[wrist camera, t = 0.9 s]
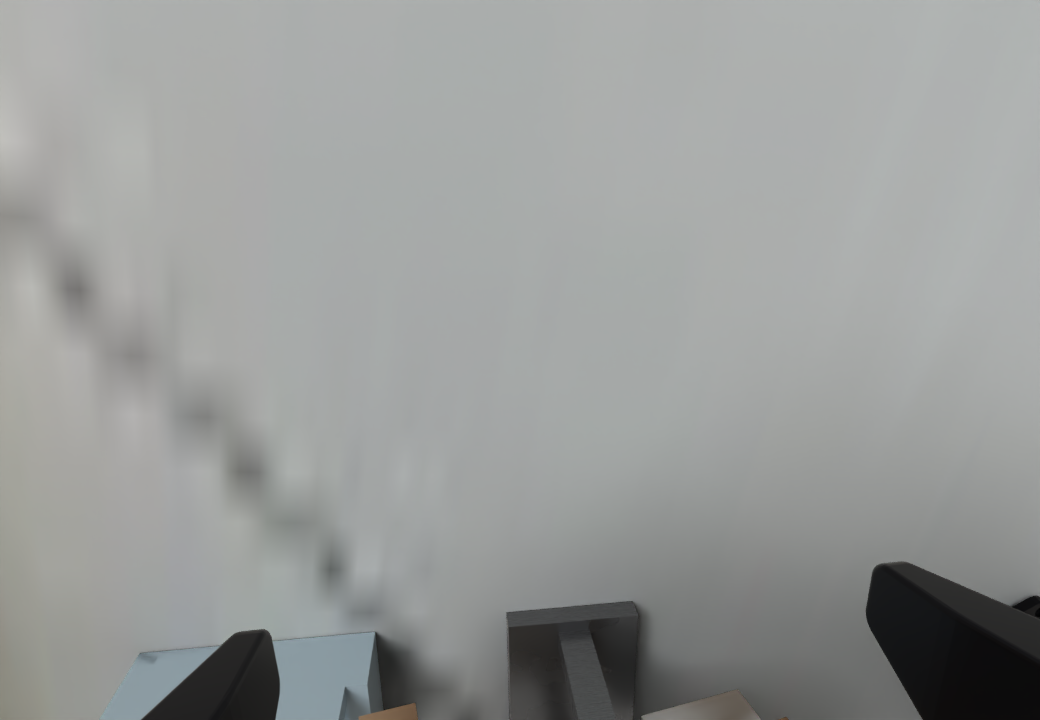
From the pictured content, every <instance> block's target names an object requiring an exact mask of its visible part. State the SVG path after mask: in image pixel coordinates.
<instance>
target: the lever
mask: <svg viewBox="0 0 1040 720" xmlns="http://www.w3.org/2000/svg"><path fill="white" fill-rule="evenodd" d="M359 720H418V716H417V710H416V704H415V703H412V704H408V705H404V706H400V707H396V708H392V709H388V710H384V711H379V712H375V713H371V714H367V715H363V716H359ZM641 720H761V719H760V717H759V716H758V715H757V714H756V712H755V711H754V710H753V708H752V707H751V706H750V704H749V703H748V702H747V700H746V699H745V698H744V697H743V695H742V694H741V693H740V691H739V690H738V689H737V690H733V691H729V692H726V693H722V694H718V695H715V696H711V697H708V698H704V699H700V700H697V701H693V702H690V703H686V704H682V705H679V706H675V707H671V708H668V709H664V710H661V711H657V712H653V713H650V714H646V715H643V716H641ZM778 720H788V718H787V717H785V718H781V719H778Z"/></svg>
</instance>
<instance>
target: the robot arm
mask: <svg viewBox="0 0 1040 720" xmlns="http://www.w3.org/2000/svg"><path fill="white" fill-rule="evenodd" d="M866 617H867V622H868V624H869V627H870V629H871V631H872V633H873V635H874V636H875V638H876V640H877V641H878V643H879V645H880V647H881V648H882V650H883V652H884V654H885V655H886V657H887V659H888V661H889V662H890V664H891V666H892V667H893V669H894V671H895V673H896V674H897V676H898V678H899V680H900V681H901V683H902V685H903V686H904V688H905V690H906V692H907V693H908V695H909V697H910V699H911V700H912V702H913V704H914V705H915V707H916V709H917V711H918V712H919V714H920V716H921V717H922V719H923V720H1040V597H1039V596H1033V597H1031V598H1028V599H1026V600H1025V601H1023V602H1021V603H1019V604H1017V605H1015V606H1013V607H1010V606H1008V605H1005V604H1003V603H1001V602H998V601H996V600H994V599H992V598H989V597H987V596H985V595H982V594H980V593H978V592H975V591H973V590H971V589H968V588H966V587H964V586H961V585H959V584H957V583H954V582H952V581H950V580H948V579H945V578H943V577H941V576H938V575H936V574H934V573H931V572H929V571H927V570H924V569H922V568H920V567H917V566H915V565H913V564H910V563H908V562H892V563H882V564H879V565H877V566H876V567H875V568H874V570H873V572H872V577H871V583H870V589H869V594H868V600H867V606H866ZM279 696H280V677H279V671H278V666H277V661H276V656H275V651H274V646H273V641H272V637H271V635H270V633H269V632H268V631H267V630H265V629H260V630H250V631H241V632H237V633H235V634H233V635H232V636H231V637H230V638H229V639H228V640H226V641H225V642H224V643H223V644H222V645H221V646H220V647H219V648H218V649H217V650H216V651H215V652H213V653H212V654H211V655H210V656H209V657H208V658H207V659H206V660H205V661H204V662H203V663H202V664H200V665H199V666H198V667H197V668H196V669H195V670H194V671H193V672H192V673H191V674H190V675H189V676H187V677H186V678H185V679H184V680H183V681H182V682H181V683H180V684H179V685H178V686H177V687H176V688H174V689H173V690H172V691H171V692H170V693H169V694H168V695H167V696H166V697H165V698H164V699H163V700H161V701H160V702H159V703H158V704H157V705H156V706H155V707H154V708H153V709H152V710H151V711H150V712H148V713H147V714H146V715H145V716H144V717H143V718H142V719H141V720H275V719H276V714H277V708H278V702H279Z"/></svg>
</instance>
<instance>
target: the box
mask: <svg viewBox="0 0 1040 720" xmlns="http://www.w3.org/2000/svg"><path fill="white" fill-rule="evenodd" d="M273 646H274V651H275V656H276V661H277V666H278V671H279V677H280V696H279V702H278V708H277V714H276V719H275V720H359V716H363V715H367V714H371V713H375V712H379V711H384V709H383V700H382V691H381V682H380V673H379V664H378V654H377V645H376V636H375V632H368V633H357V634H346V635H335V636H324V637H313V638H302V639H291V640H280V641H273ZM219 647H220V646H214V647H203V648H192V649H181V650H170V651H160V652H149V653H140V654H139V655H138V657H137V659H136V660H135V662H134V664H133V665H132V667H131V668H130V670H129V672H128V673H127V675H126V677H125V678H124V680H123V682H122V683H121V685H120V686H119V688H118V690H117V691H116V693H115V695H114V696H113V698H112V700H111V701H110V703H109V704H108V706H107V708H106V709H105V711H104V713H103V714H102V716H101V718H100V719H99V720H141V719H142V718H143V717H144V716H145V715H146V714H147V713H148V712H150V711H151V710H152V709H153V708H154V707H155V706H156V705H157V704H158V703H159V702H160V701H161V700H163V699H164V698H165V697H166V696H167V695H168V694H169V693H170V692H171V691H172V690H173V689H174V688H176V687H177V686H178V685H179V684H180V683H181V682H182V681H183V680H184V679H185V678H186V677H187V676H189V675H190V674H191V673H192V672H193V671H194V670H195V669H196V668H197V667H198V666H199V665H200V664H202V663H203V662H204V661H205V660H206V659H207V658H208V657H209V656H210V655H211V654H212V653H213V652H215V651H216V650H217V649H218V648H219Z"/></svg>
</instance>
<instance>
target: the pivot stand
mask: <svg viewBox="0 0 1040 720" xmlns="http://www.w3.org/2000/svg"><path fill="white" fill-rule="evenodd" d="M637 633H638V613H637V611H636V608H635V606H634V603H633V601H630V602H619V603H608V604H597V605H586V606H575V607H564V608H553V609H542V610H530V611H519V612H508V613H507V649H508V685H509V720H633V708H634V689H635V671H636V652H637Z"/></svg>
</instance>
